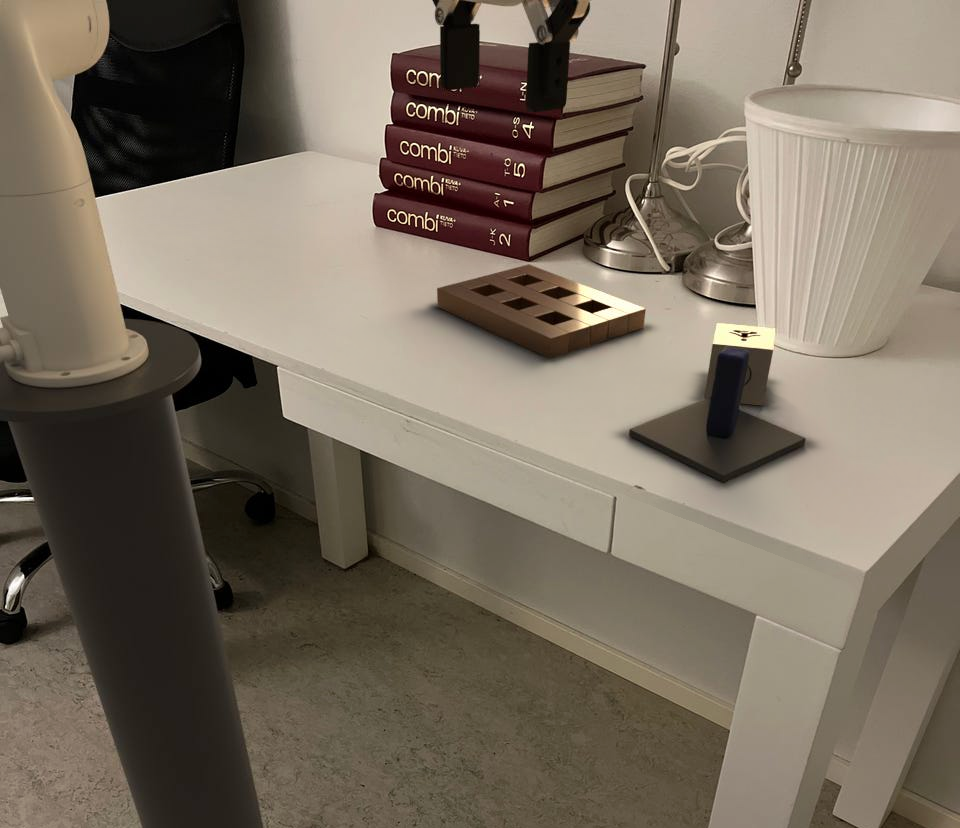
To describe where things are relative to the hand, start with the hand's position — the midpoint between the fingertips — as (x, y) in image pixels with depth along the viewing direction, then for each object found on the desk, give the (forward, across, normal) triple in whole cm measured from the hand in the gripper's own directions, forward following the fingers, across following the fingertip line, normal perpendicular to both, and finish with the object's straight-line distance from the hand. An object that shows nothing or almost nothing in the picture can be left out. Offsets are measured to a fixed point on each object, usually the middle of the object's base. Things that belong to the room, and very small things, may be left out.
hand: (501, 98), depth 69 cm
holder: (+24, -13, +17) cm, 32 cm away
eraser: (+23, +17, +10) cm, 30 cm away
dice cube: (+23, +11, +19) cm, 32 cm away
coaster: (+23, +17, +10) cm, 30 cm away
